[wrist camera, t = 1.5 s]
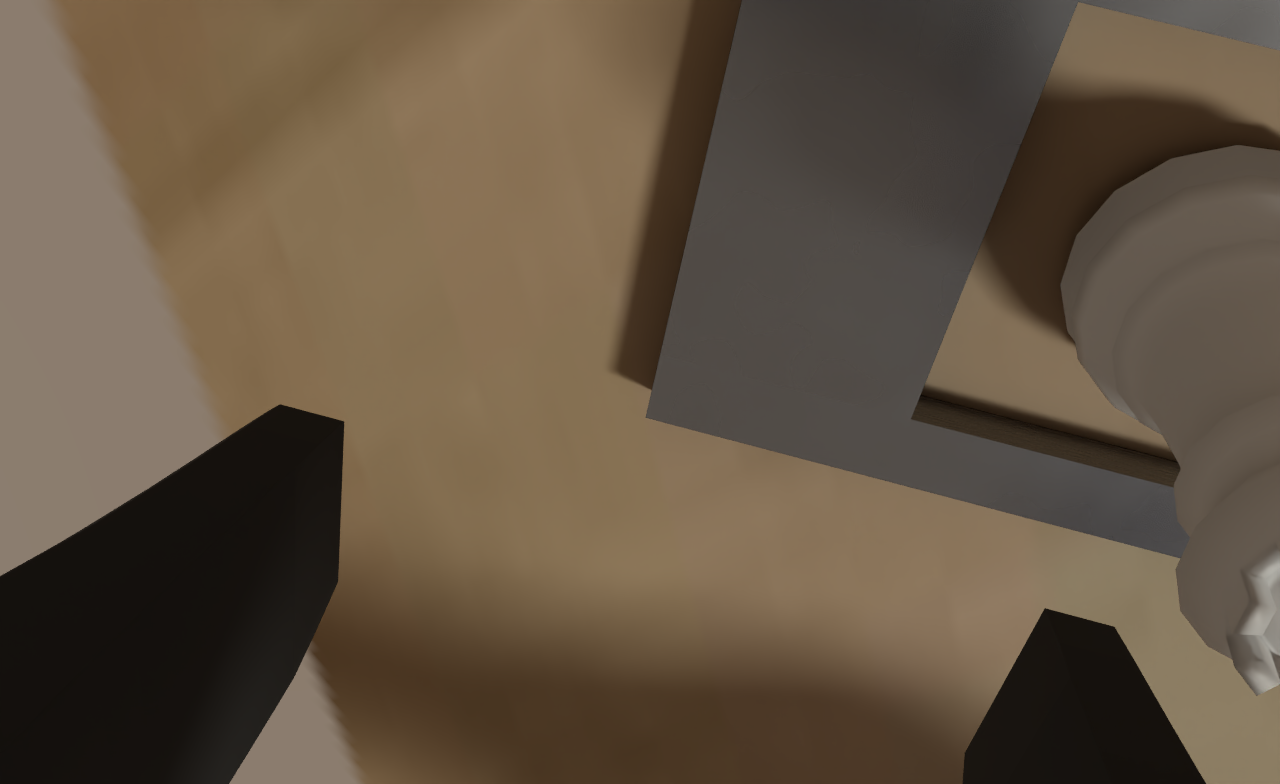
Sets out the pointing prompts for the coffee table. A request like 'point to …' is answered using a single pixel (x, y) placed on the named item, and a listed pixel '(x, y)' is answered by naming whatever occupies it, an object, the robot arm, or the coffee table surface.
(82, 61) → the coffee table surface
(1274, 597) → the rook chess piece
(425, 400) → the coffee table surface
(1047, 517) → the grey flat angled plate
